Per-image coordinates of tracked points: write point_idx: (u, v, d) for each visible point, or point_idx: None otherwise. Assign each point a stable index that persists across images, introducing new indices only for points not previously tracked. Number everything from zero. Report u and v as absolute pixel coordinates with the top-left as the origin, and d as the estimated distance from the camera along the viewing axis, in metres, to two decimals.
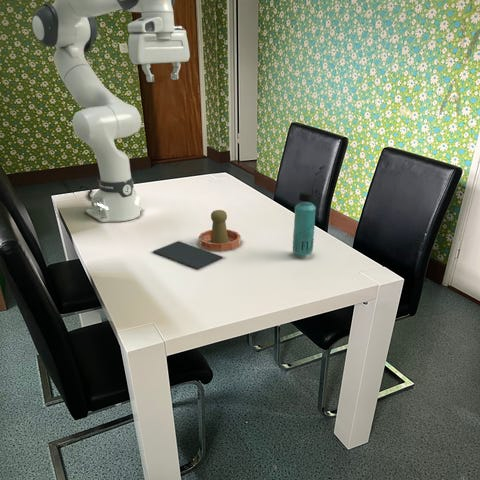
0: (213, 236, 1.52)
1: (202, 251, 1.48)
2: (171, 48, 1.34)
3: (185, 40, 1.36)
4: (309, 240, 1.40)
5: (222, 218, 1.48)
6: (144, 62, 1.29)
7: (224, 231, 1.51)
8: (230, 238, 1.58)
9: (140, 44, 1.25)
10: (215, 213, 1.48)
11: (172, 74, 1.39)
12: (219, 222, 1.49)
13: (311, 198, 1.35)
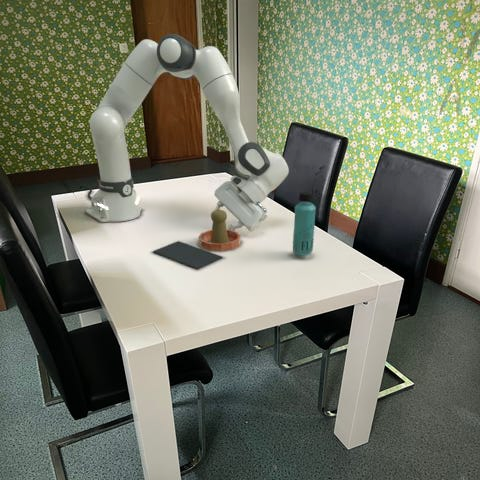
0: (213, 236, 1.52)
1: (202, 251, 1.48)
2: (242, 208, 1.58)
3: (257, 214, 1.56)
4: (309, 240, 1.40)
5: (222, 218, 1.48)
6: (217, 196, 1.62)
7: (224, 231, 1.51)
8: (230, 238, 1.58)
9: (223, 184, 1.62)
10: (215, 213, 1.48)
11: None
12: (219, 222, 1.49)
13: (311, 198, 1.35)
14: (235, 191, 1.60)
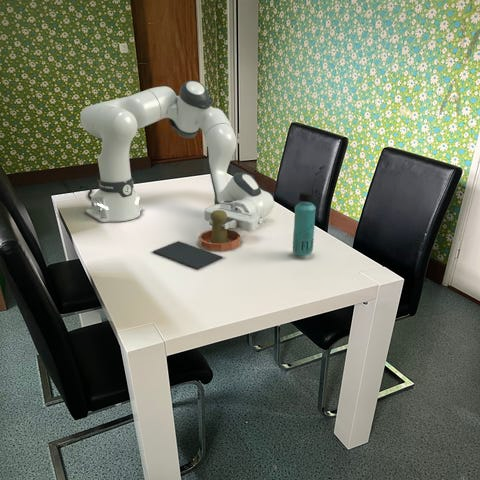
0: (213, 236, 1.52)
1: (202, 251, 1.48)
2: (238, 214, 1.54)
3: (256, 216, 1.53)
4: (309, 240, 1.40)
5: (222, 218, 1.48)
6: (208, 211, 1.58)
7: (224, 231, 1.51)
8: (230, 238, 1.58)
9: (213, 205, 1.61)
10: (215, 213, 1.48)
11: None
12: (219, 222, 1.49)
13: (311, 198, 1.35)
14: (227, 208, 1.59)
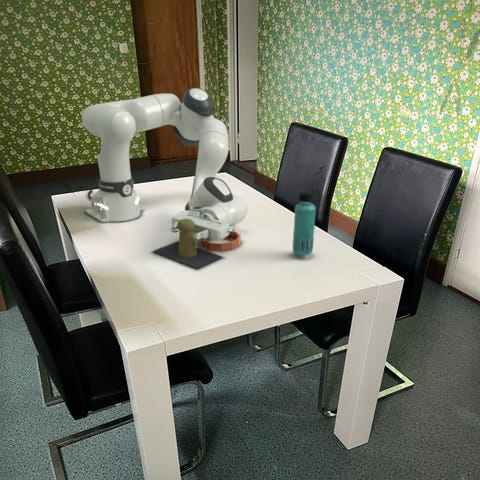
0: (180, 246, 1.43)
1: (202, 251, 1.48)
2: (207, 222, 1.45)
3: (225, 224, 1.44)
4: (309, 240, 1.40)
5: (189, 228, 1.40)
6: (176, 218, 1.48)
7: (192, 241, 1.43)
8: (230, 238, 1.58)
9: (182, 212, 1.52)
10: (181, 222, 1.40)
11: None
12: (186, 232, 1.41)
13: (311, 198, 1.35)
14: (196, 214, 1.50)
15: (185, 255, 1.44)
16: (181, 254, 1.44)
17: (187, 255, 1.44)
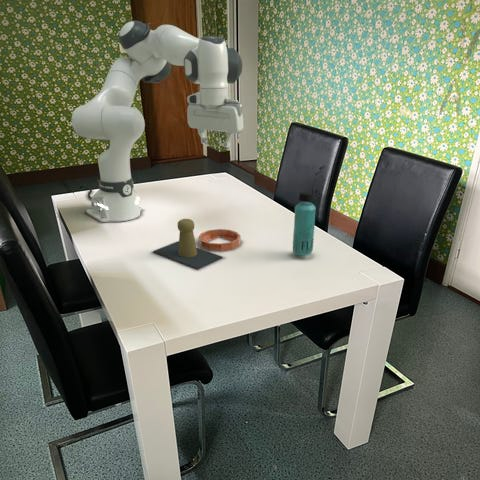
0: (180, 246, 1.43)
1: (202, 251, 1.48)
2: (218, 119, 1.43)
3: (232, 114, 1.39)
4: (309, 240, 1.40)
5: (189, 228, 1.40)
6: (193, 127, 1.50)
7: (192, 241, 1.43)
8: (230, 238, 1.58)
9: (188, 112, 1.48)
10: (181, 222, 1.40)
11: None
12: (186, 232, 1.41)
13: (311, 198, 1.35)
14: (200, 109, 1.45)
15: (185, 255, 1.44)
16: (181, 254, 1.44)
17: (187, 255, 1.44)
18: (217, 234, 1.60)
